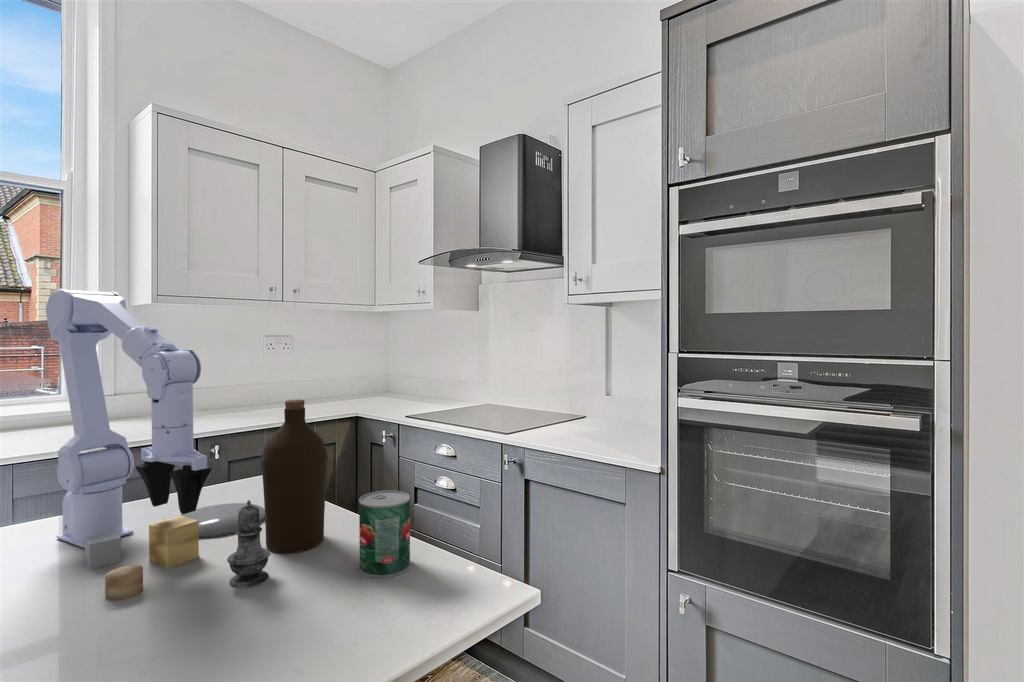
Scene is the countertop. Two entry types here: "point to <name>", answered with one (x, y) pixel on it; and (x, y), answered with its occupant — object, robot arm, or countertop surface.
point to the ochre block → (173, 541)
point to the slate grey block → (102, 549)
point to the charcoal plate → (219, 519)
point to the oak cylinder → (123, 582)
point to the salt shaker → (248, 550)
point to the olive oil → (294, 484)
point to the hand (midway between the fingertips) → (173, 508)
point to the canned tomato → (384, 533)
